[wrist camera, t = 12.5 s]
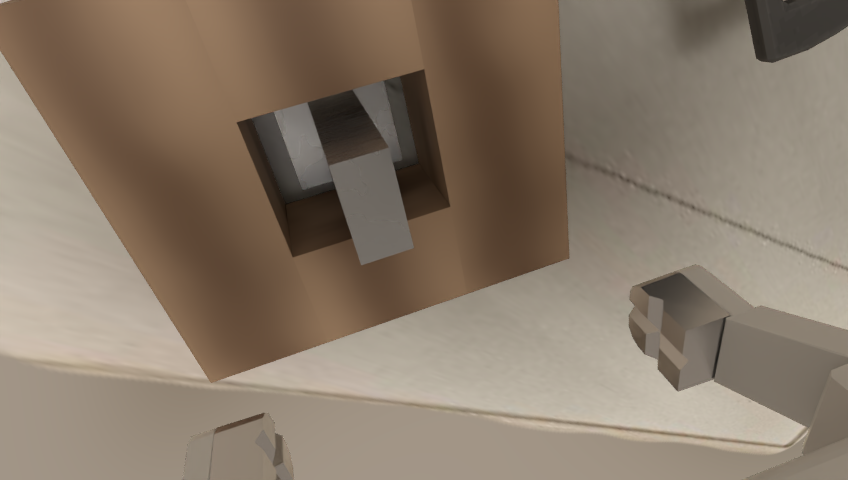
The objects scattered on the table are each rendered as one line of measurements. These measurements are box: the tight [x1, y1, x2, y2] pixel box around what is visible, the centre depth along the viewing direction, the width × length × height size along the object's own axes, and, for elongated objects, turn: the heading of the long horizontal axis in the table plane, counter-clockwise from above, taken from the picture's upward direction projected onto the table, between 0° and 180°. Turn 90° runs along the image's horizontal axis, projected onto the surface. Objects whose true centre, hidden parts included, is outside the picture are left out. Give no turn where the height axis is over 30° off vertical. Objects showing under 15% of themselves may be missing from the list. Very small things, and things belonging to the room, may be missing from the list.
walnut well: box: [0, 0, 569, 383], centre depth 22 cm, size 18×16×5 cm
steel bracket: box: [274, 81, 414, 265], centre depth 21 cm, size 5×4×8 cm
